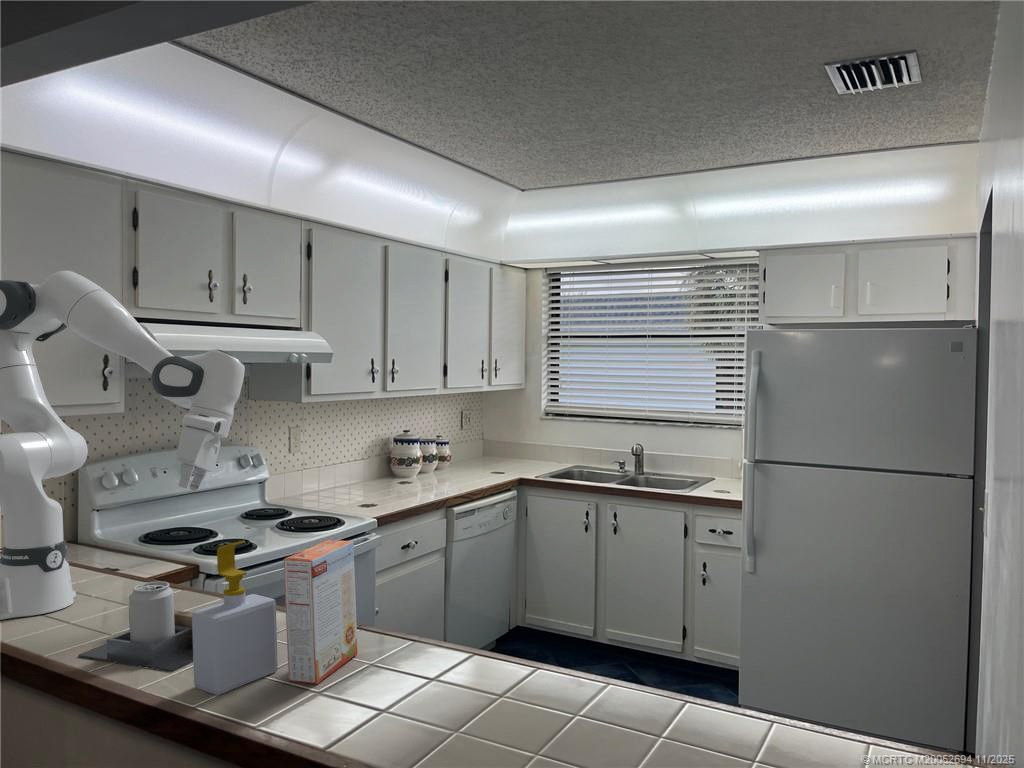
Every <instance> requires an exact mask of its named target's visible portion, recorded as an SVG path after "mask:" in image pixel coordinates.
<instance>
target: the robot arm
mask: <svg viewBox="0 0 1024 768" xmlns="http://www.w3.org/2000/svg"><path fill="white" fill-rule="evenodd" d="M67 328H69V329H70V330H71V331H72V332H74V333H75V334H76V335H78V336H79V337H81V338H82V339H85V340H86V341H88V342H90V343H91V344H93V345H96V346H97V347H100V348H102V349H105V350H107V351H109V352H112V353H114V354H116V355H119V356H122V357H124V358H127V359H128V360H130V361H132V362H134V363H136V364H137V365H139V366H140V367H142V368H143V369H144V370H145V371H146V372H148V373H149V374H150V375H151V377H150V380H151V381H150V382H151V385H152V388H153V390H154V391H155V392H156V394H158V395H159V396H160V397H161V398H163V399H165V400H167V401H169V402H171V403H173V404H175V405H176V406H177V407H180V408H181V409H182V410H184V411H185V412H188V413H186V414H184V416H183V418H182V421H181V425H182V426H183V427H182V431H181V433H180V436H179V437H180V438H179V441H178V445H177V446H178V447H177V451H176V462H178V463H180V464H182V465H181V467H180V476H179V481H178V487H179V488H183V489H189V490H191V491H196V492H198V491H200V488H201V485H202V483H203V481H204V480H205V477H206V474H207V473H208V472H209V473H212V472H214V469H215V468H216V465H217V459H218V456H219V452H220V449H221V438H222V439H226V438H228V435H229V432H230V428H231V426H232V423H233V418H234V411H235V406H236V404H237V403H238V400H239V399H240V395H241V393H242V392H241V391H242V388H243V383H244V378H245V374H246V373H245V371H246V369H245V368H246V367H245V365H244V363H243V362H242V360H241V359H239V358H238V357H237V356H235V355H233V354H232V353H230V352H227V351H225V350H223V349H218V348H213V349H210V350H209V351H207V352H204V353H200V354H196V355H185V356H184V355H183V356H181V355H180V356H179V355H178V356H177V355H174V354H172V353H171V352H170V351H168V350H167V349H166V348H164V347H163V346H162V345H161V344H159V343H158V342H157V341H156V340H155V339H154V338H153V337H152V336H151V335H150V334H149V333H148V332H147V331H146V330H145V329H144V327H142V326H141V325H140V323H139V322H138V321H137V320H136V318H134V317H133V315H132V314H131V313H130V311H129V310H127V308H126V307H125V306H123V305H122V303H121V302H120V301H118V299H116V298H115V297H114V296H113V295H112V294H111V293H109V292H108V291H107V290H105V289H104V288H102V287H101V286H100V285H98V284H96V283H95V282H94V281H92V280H90V279H89V278H86V277H85V276H83V275H81V274H78V273H76V272H74V271H73V270H60V271H59V270H58V271H56V272H54V273H52V274H50V275H49V276H48V277H47V278H46V279H45V280H44V281H43V283H42V284H35V283H31V282H27V281H18V280H10V279H1V280H0V420H2V421H4V422H5V423H6V424H7V425H8V426H9V427H10V428H11V430H13V432H12V433H2V434H0V509H1V513H2V520H3V521H2V522H3V530H4V546H3V547H1V548H0V620H7V619H13V618H21V617H22V618H23V617H32V616H38V615H42V614H47V613H51V612H56V611H59V610H62V609H64V608H67V607H69V606H70V605H72V604H73V603H75V599H74V598H75V597H76V596H77V593H76V590H74V589H73V584H72V577H71V571H70V564H69V562H68V561H67V560H66V557H67V549H68V546H67V540H65V539H64V521H63V519H64V518H63V516H64V515H63V508H62V505H61V503H59V502H58V501H57V500H55V499H53V498H51V497H48V496H47V494H46V491H45V490H44V487H43V484H42V480H48V479H52V478H59V477H62V476H65V475H68V474H71V473H73V472H75V471H77V470H79V469H80V468H82V467H83V466H84V464H85V463H86V461H87V458H88V452H89V451H88V449H89V448H88V445H87V441H86V439H85V437H84V436H83V435H82V434H81V433H79V432H78V431H76V430H74V429H72V428H71V427H69V426H68V425H67V424H66V423H65V422H64V421H63V420H62V419H61V417H59V415H58V414H57V413H56V412H55V410H54V409H53V407H52V406H51V403H50V402H49V401H48V398H47V395H46V393H45V390H44V388H43V384H42V381H41V378H40V374H39V371H38V366H37V364H36V360H35V358H34V354H33V344H34V343H35V341H36V342H45V341H47V340H48V339H50V338H51V337H52V336H54V335H57V334H58V333H60V332H62V331H64V330H66V329H67ZM193 472H194V475H193V477H192V474H193ZM191 479H192V480H191Z"/></svg>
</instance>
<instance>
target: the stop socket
mask: <svg viewBox="0 0 1024 768" xmlns="http://www.w3.org/2000/svg"><path fill="white" fill-rule="evenodd" d="M174 625H175V634H174V635H172V636H170V637H167V638H165V639H163V640H160V641H158V642H156V643H153V644H146V643H139V642H133V641H130V630H128V631H125V632H122V633H120V634H118V635H115V636H112V637H110V638H107V639H106V643H103V644H101V645H99V646H96V647H93V648H91V649H89V650H85V651H83V652H82V653H80V654H78V658H83V659H89V658H93V659H92V660H95V659H98V660H97V661H101V660H105V661H104V662H107V661H110V662H109V663H113V662H116V663H115V664H119V663H120V664H121V665H126V666H132V665H133V666H132V667H138V666H141V667H140V668H144V667H148V668H147V669H150V668H153V669H152V670H157V669H158V671H163V670H164V671H163V672H171V673H172V672H175V671H177V670H179V669H181V668H183V667H185V666H187V665H189V664H191V663H193V632H192V626H184V625H177V624H174ZM190 662H191V663H190Z"/></svg>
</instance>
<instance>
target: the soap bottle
mask: <svg viewBox="0 0 1024 768" xmlns="http://www.w3.org/2000/svg"><path fill="white" fill-rule="evenodd" d="M244 543H245V540H240V541H236V542H235V541H234V542H231V543H228V544H225V545H221V546H218V548H217V549H216V560H217V561H216V563H217V572H218V575H219V576H222V577H224V579H225V581H224V582H227V583H228V587H227V588H224V590H223V602H221V603H217V604H215V605H211V606H207V607H204V608H201V609H197V610H195V611H193V612H192V613H193V614H192V632H193V662H192V663H193V664H192V665H193V666H192V667H193V684H194V687H195V688H197V689H199V690H202V691H203V692H206V693H210V694H212V695H216V696H217V695H221V694H224V693H226V692H229V691H231V690H234V689H236V688H239V687H242V686H245V685H246V684H249V683H251V682H254V681H256V680H259V679H261V678H264V677H266V676H268V675H272V674H274V673H276V672H277V671H278V640H277V639H278V638H277V637H278V634H277V631H278V629H277V602H276V599H274V598H271V597H267V596H262V595H260V594H254V593H252V594H249V595H246V588H245V587H244V586H241V585H240V581H242V580H244V578H243V577H244V575H245V576H246V575H247V574H248V571H245V570H242V569H237V567H236V562H235V561H236V556H235V555H236V554H235V552H236V550H235V549H236V546H238V545H240V544H244Z"/></svg>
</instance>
